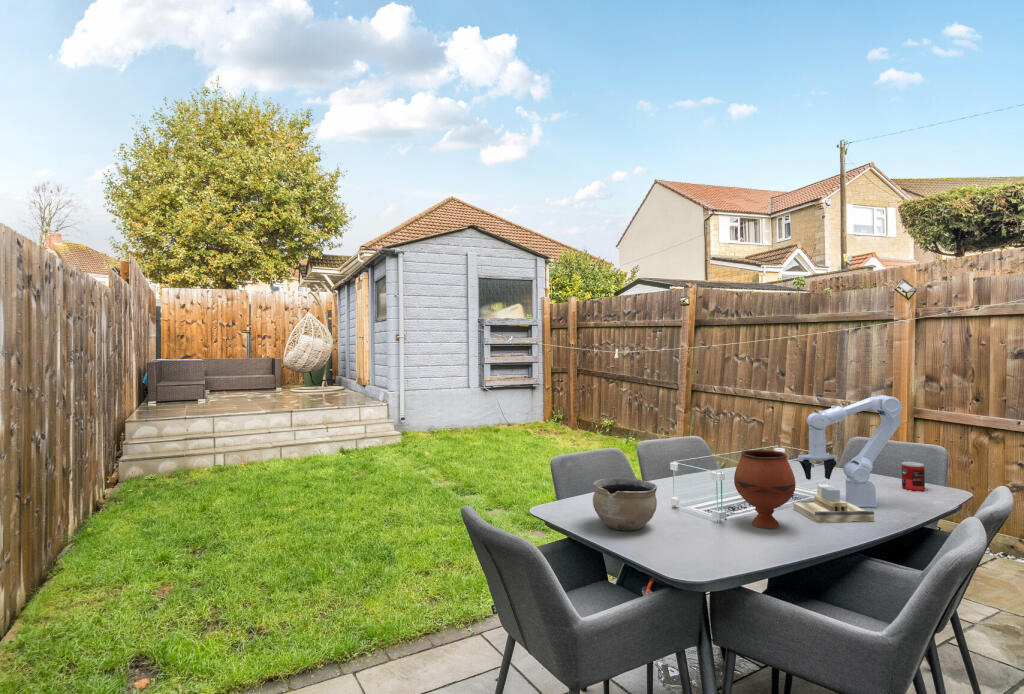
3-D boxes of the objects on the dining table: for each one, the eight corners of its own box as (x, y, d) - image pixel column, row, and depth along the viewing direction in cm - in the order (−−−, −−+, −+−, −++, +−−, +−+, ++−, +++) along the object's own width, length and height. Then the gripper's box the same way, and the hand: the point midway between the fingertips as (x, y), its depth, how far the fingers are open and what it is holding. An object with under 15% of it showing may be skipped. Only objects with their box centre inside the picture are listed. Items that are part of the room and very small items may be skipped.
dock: (846, 508, 209) (846, 499, 209) (874, 521, 193) (874, 511, 193) (793, 509, 209) (793, 500, 209) (816, 522, 193) (816, 512, 193)
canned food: (905, 486, 241) (904, 460, 241) (927, 489, 235) (926, 463, 235) (899, 489, 236) (898, 463, 236) (921, 492, 230) (921, 466, 230)
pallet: (829, 502, 208) (828, 494, 208) (847, 511, 197) (847, 503, 197) (814, 503, 208) (814, 495, 208) (832, 511, 197) (831, 503, 197)
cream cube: (829, 495, 207) (828, 484, 208) (833, 498, 204) (832, 487, 204) (817, 495, 208) (817, 484, 208) (821, 497, 204) (821, 487, 204)
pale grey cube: (833, 498, 203) (833, 487, 203) (840, 501, 199) (839, 490, 199) (822, 498, 203) (822, 487, 203) (828, 501, 199) (828, 490, 199)
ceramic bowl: (579, 526, 194) (579, 482, 194) (619, 513, 208) (619, 473, 208) (631, 542, 177) (630, 495, 177) (671, 527, 191) (670, 483, 191)
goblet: (722, 521, 197) (721, 450, 197) (764, 514, 203) (763, 446, 204) (765, 537, 179) (763, 460, 179) (809, 529, 186) (808, 455, 186)
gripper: (829, 442, 221) (830, 476, 221) (793, 442, 221) (794, 476, 221) (840, 445, 214) (841, 480, 214) (803, 445, 214) (804, 481, 214)
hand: (817, 478), depth 217 cm, fingers open, 7 cm apart
